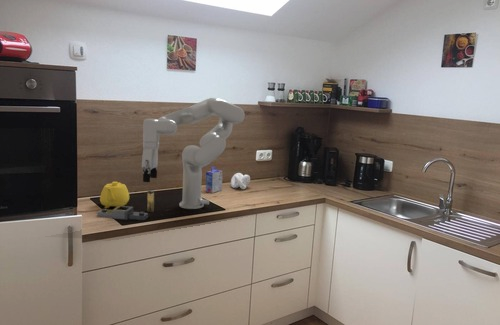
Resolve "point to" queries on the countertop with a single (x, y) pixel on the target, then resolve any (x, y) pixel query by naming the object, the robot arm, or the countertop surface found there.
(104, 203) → the teapot
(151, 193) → the pin
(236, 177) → the white twisted lump
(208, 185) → the ink cartridge box
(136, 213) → the chain ends
